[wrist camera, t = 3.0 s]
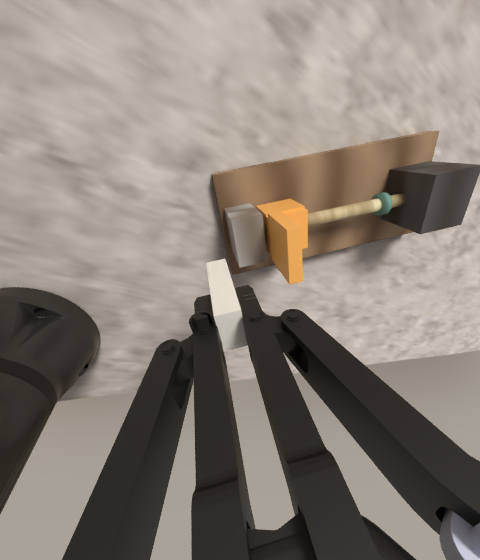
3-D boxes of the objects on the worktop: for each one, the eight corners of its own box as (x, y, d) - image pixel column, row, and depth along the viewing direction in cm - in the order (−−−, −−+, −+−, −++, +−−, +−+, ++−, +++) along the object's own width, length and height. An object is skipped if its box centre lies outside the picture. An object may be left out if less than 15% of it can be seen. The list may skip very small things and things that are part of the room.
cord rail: (230, 269, 31) (241, 301, 25) (211, 173, 25) (219, 183, 19) (405, 228, 34) (456, 248, 27) (427, 131, 27) (500, 127, 21)
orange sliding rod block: (260, 244, 28) (289, 284, 20) (255, 202, 26) (286, 229, 18) (291, 237, 29) (332, 274, 20) (289, 195, 26) (336, 218, 18)
